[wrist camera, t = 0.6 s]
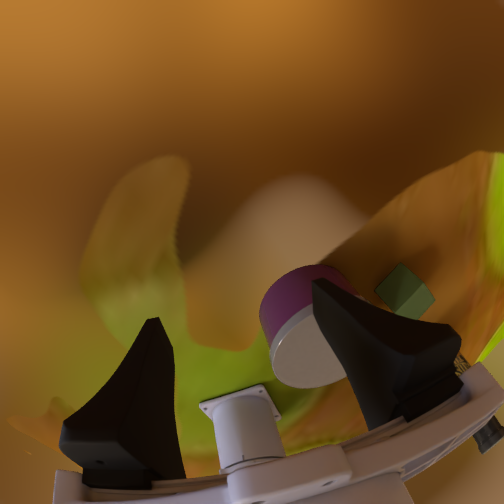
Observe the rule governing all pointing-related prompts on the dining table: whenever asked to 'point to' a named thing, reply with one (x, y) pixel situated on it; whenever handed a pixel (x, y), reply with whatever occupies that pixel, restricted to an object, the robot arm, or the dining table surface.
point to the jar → (300, 329)
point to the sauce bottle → (492, 429)
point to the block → (405, 293)
